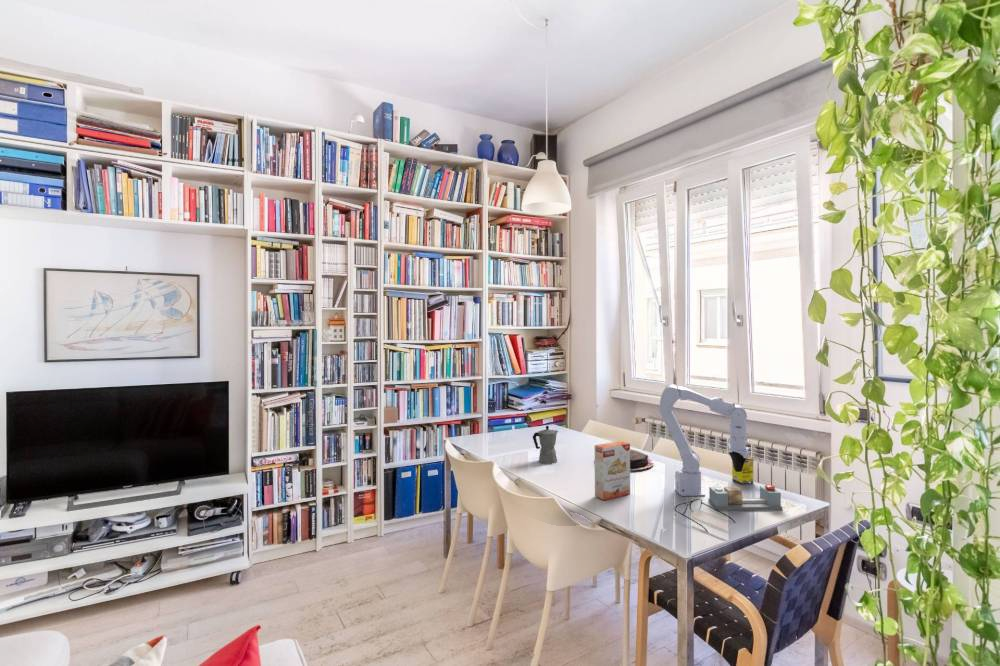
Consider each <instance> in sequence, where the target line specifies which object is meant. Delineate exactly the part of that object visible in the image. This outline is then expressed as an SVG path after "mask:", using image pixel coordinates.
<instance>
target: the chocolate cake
mask: <svg viewBox="0 0 1000 666" xmlns="http://www.w3.org/2000/svg"><path fill="white" fill-rule="evenodd" d="M653 466H654V461H653V460H652V459H650V458H649V455H648V454H645V453H643V452H641V451H639V450H638V451H637V450H635V449H631V448H630V471H632V472H641V470H642V471H645V470H648V469H649V468H652V467H653ZM647 468H648V469H647Z"/></svg>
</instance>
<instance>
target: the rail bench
mask: <svg viewBox="0 0 1000 666" xmlns="http://www.w3.org/2000/svg"><path fill="white" fill-rule="evenodd" d="M708 489H709V492H708V493H709V494H708V495H709V497H708V499H707V500H708V503H710V505H712V506H713V508H714V509H716V510H718V511H720V512H723V511H724V512H725V511H729V512H730V511H783V506H782V503H781V502H782V499H781V496H782V494H781V492H780V491H779V490H777V489H776V488H775V490H773V491H768V490H767V489H765V485H764V486H763V485H761V486H759V497H742V504H728V493H727V492H726V491H725V490H724V488H722V487H721V486H709V488H708ZM718 511H717V512H718Z"/></svg>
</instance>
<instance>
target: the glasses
mask: <svg viewBox="0 0 1000 666" xmlns="http://www.w3.org/2000/svg"><path fill="white" fill-rule="evenodd" d="M698 500H700V507H699V508H698V511H700V509H701V507H702V504H703V505H704V506H706V507H709V508H710V509H713V510H714V511H716V512H718V513H720V514H722V515H724V516H725V517H727V518H729V519H730V520H731V521H733V523H734V524H737V523H736V521H735V519H733V517H732V516H729V515H728V514H727V513H724V512H723V511H718V510H717V509H716V508H715V507H712V506H710V505H709V504H706V503H704V502H703V500H702V499H701V498H696V499H694V500H691V501H687V502H682V503H678V504H677V505H676V506H675V508H674V512H675V513H678V514H679V515H681V516H683V517H685V518H687V519H688V520H690V521H691V522H693V523H696V524H697V525H699V526H700V527H702V528H703V529H704V531H706V533H709V531H708V530H707V528H705V527H704V526H703V525H702V524H701V523H699V522H697V521H695V520H694V519H692V518H690V517H689V516H687V515H685V513H686V512H687V509H688V506H689V509H690V510H691V512H694V511H693V510H692V508H691V506H692V503H694V502H695V501H698ZM683 504H684V505H686V507H685V510H684V512H683V513H681V512H680V511H678V510H677V507H678V506H681V505H683ZM674 516H675V517H676V516H677V515H676V514H674Z"/></svg>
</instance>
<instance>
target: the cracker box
mask: <svg viewBox="0 0 1000 666" xmlns="http://www.w3.org/2000/svg"><path fill="white" fill-rule="evenodd" d="M630 449H631V443H628V442H625V441H623V440H619V441H612V442H605V443H601V444H599V443H598V444H594V496H595V497H596V498H598V499H600V500H602V501H606V500H610V499H615V498H619V497H622V496H627V495H631V472H630Z"/></svg>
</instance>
